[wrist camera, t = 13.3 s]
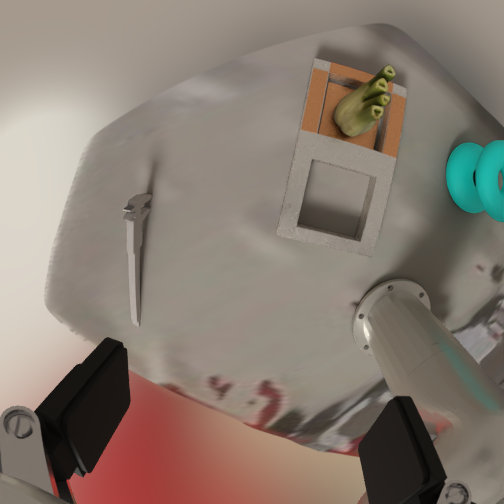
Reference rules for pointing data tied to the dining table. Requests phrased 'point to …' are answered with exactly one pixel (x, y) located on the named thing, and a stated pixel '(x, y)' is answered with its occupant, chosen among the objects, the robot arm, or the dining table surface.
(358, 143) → the orange and grey tray
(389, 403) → the robot arm
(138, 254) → the caliper
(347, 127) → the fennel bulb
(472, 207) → the donuts
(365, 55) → the dining table surface
